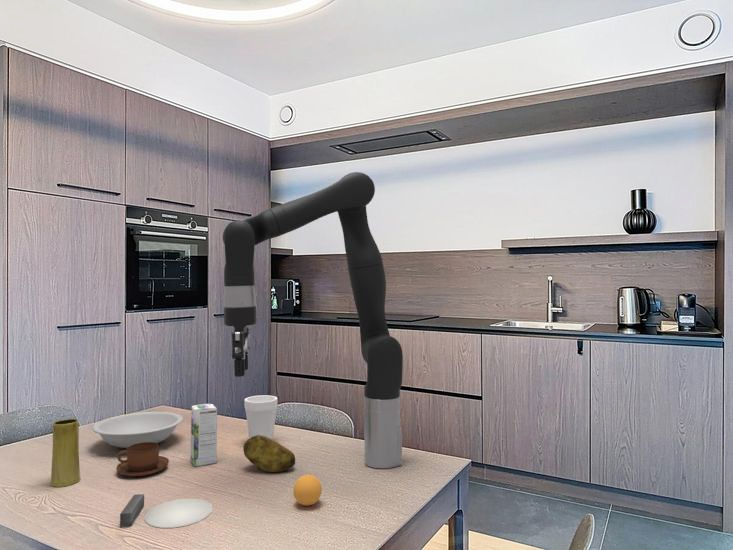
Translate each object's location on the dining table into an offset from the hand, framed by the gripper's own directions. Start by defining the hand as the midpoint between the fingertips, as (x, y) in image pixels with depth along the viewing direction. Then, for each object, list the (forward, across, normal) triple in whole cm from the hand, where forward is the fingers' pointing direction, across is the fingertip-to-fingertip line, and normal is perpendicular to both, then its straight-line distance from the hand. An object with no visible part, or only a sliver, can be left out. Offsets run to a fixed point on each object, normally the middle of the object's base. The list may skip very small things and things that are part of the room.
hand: (241, 373), depth 123 cm
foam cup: (+26, +27, -2) cm, 37 cm away
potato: (+26, +6, -5) cm, 27 cm away
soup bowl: (+25, +31, +33) cm, 52 cm away
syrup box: (+25, +14, +12) cm, 31 cm away
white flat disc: (+25, -16, +11) cm, 32 cm away
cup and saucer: (+25, +9, +26) cm, 37 cm away
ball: (+23, -16, -15) cm, 31 cm away
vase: (+24, +4, +42) cm, 49 cm away
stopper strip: (+25, -16, +20) cm, 36 cm away
